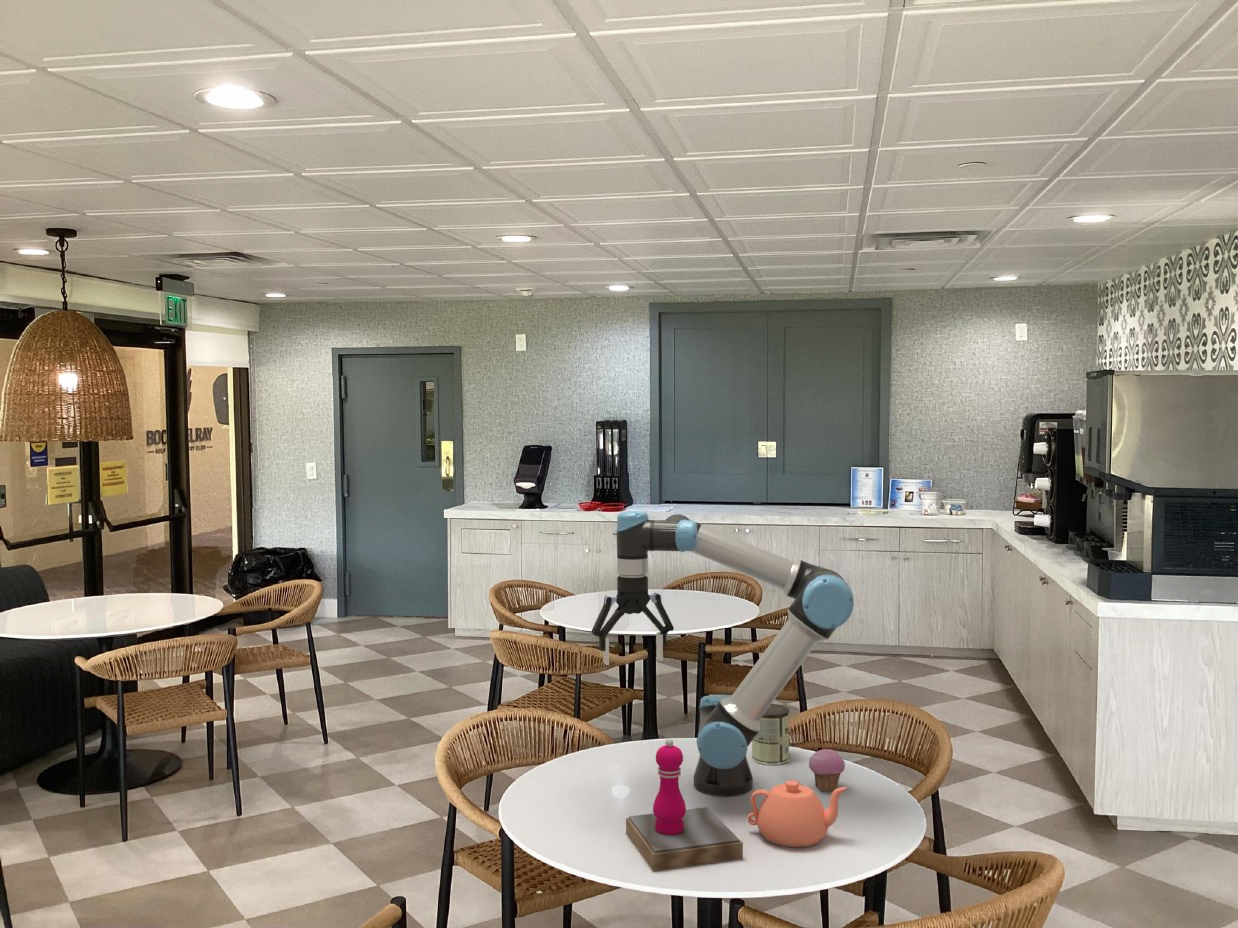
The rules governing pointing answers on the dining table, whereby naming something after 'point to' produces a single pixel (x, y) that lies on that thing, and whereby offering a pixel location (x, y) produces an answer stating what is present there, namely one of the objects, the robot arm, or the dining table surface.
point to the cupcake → (826, 768)
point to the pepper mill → (669, 791)
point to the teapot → (793, 814)
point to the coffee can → (772, 737)
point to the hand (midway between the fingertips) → (633, 661)
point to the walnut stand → (684, 841)
